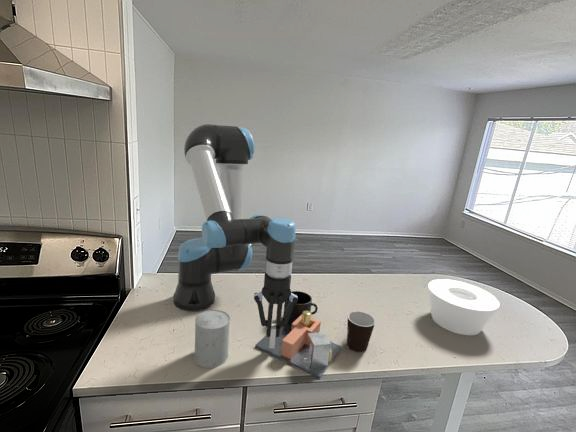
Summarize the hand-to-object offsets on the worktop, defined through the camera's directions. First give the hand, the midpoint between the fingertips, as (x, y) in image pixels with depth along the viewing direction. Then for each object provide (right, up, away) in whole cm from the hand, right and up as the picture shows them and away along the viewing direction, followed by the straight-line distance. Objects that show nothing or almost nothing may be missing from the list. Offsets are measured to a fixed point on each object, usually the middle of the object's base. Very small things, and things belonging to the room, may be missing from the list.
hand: (271, 345), depth 98 cm
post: (+10, -1, +9) cm, 13 cm away
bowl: (+69, -2, +27) cm, 74 cm away
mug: (+9, +1, +18) cm, 21 cm away
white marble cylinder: (-17, -2, -3) cm, 18 cm away
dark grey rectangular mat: (+8, -2, +4) cm, 9 cm away
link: (+8, -1, +5) cm, 9 cm away
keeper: (+14, -3, -2) cm, 14 cm away
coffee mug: (+28, -3, +8) cm, 29 cm away
